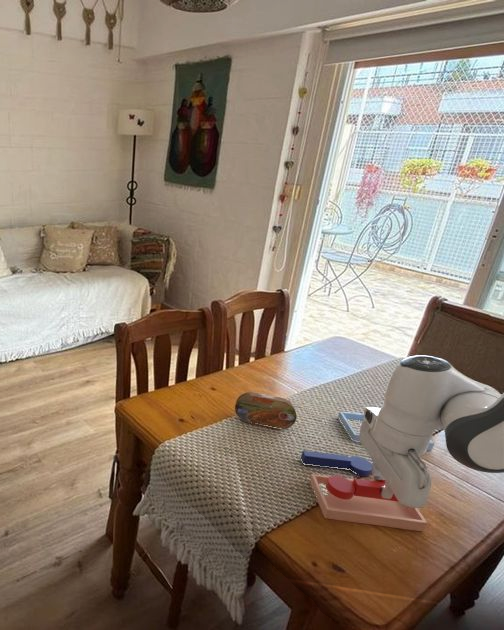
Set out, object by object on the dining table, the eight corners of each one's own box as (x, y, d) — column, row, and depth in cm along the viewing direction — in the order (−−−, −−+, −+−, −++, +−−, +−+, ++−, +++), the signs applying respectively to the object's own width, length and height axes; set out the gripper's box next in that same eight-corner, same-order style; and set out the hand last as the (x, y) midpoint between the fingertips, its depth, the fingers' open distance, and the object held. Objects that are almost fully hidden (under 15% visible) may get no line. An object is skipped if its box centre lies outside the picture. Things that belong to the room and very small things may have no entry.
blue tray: (410, 426, 117) (412, 418, 116) (431, 450, 108) (434, 443, 107) (337, 418, 120) (339, 411, 119) (352, 442, 111) (354, 434, 110)
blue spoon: (304, 469, 101) (307, 460, 100) (298, 455, 106) (300, 446, 105) (375, 478, 99) (378, 468, 98) (365, 463, 104) (368, 453, 102)
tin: (232, 419, 119) (237, 393, 116) (233, 413, 122) (238, 387, 118) (293, 433, 114) (299, 406, 110) (292, 426, 116) (299, 399, 113)
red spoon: (399, 490, 92) (403, 479, 91) (411, 508, 87) (415, 498, 86) (322, 480, 94) (325, 469, 93) (330, 497, 89) (334, 487, 88)
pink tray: (398, 493, 95) (401, 484, 94) (423, 531, 86) (427, 523, 85) (309, 481, 98) (311, 473, 97) (324, 518, 88) (327, 509, 87)
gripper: (451, 474, 74) (425, 534, 80) (393, 406, 93) (375, 458, 98) (410, 469, 75) (387, 528, 81) (361, 403, 94) (345, 455, 99)
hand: (380, 489), depth 90 cm, fingers closed on red spoon, 2 cm apart
